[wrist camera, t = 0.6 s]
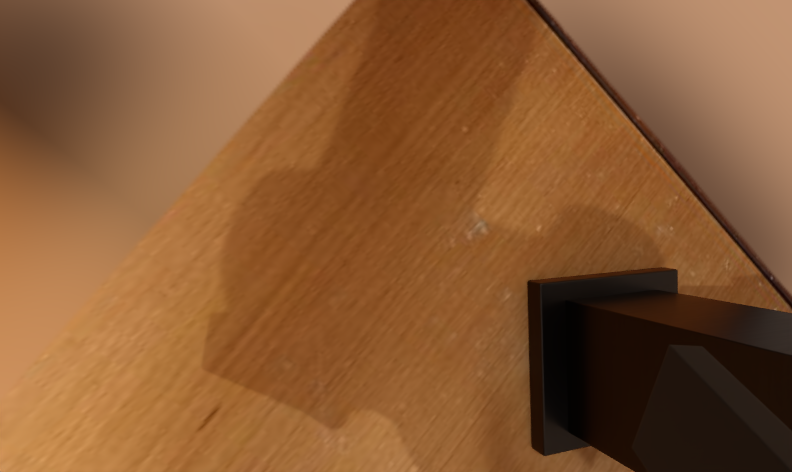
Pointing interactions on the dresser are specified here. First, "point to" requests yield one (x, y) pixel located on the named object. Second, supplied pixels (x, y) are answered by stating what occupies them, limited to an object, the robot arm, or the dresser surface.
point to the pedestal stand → (637, 354)
